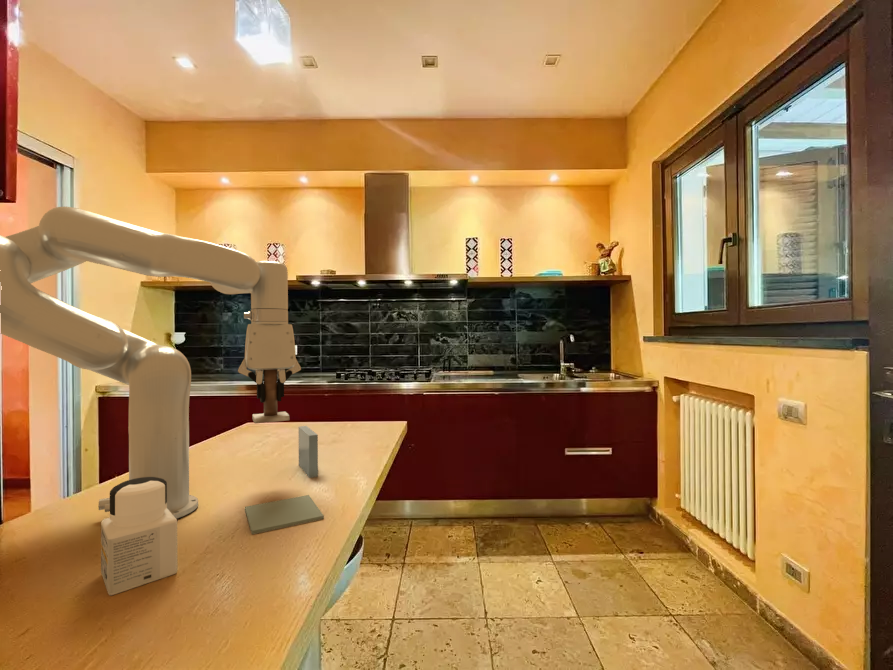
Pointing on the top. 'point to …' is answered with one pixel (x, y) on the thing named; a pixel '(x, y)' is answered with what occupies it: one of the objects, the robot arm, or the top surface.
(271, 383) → the brown upright post
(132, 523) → the container
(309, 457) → the tile
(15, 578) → the top surface
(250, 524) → the mat
